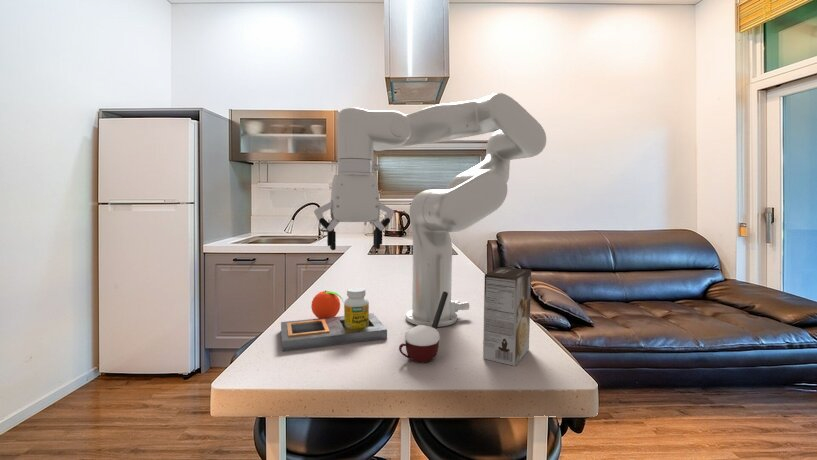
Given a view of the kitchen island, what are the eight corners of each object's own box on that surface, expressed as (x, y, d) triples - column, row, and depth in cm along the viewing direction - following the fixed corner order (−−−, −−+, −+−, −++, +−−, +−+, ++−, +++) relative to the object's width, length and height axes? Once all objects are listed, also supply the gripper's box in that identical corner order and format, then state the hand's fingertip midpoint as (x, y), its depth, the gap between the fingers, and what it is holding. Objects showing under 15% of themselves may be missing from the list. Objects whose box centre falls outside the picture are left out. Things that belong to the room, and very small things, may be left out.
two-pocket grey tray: (373, 321, 92) (373, 311, 91) (387, 338, 80) (387, 328, 80) (281, 330, 84) (280, 320, 84) (282, 351, 73) (282, 339, 73)
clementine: (348, 316, 96) (348, 288, 95) (338, 325, 89) (338, 295, 88) (318, 314, 97) (318, 286, 96) (306, 322, 90) (306, 293, 90)
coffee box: (498, 343, 78) (500, 266, 77) (529, 350, 75) (532, 269, 74) (481, 359, 70) (483, 273, 69) (516, 367, 67) (519, 277, 66)
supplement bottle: (362, 326, 88) (362, 285, 87) (373, 333, 83) (373, 290, 83) (340, 330, 85) (340, 288, 84) (350, 338, 80) (350, 293, 80)
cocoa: (399, 367, 68) (396, 302, 66) (399, 352, 74) (397, 292, 72) (452, 365, 68) (451, 300, 66) (448, 350, 74) (447, 290, 72)
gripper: (389, 171, 88) (388, 245, 89) (312, 168, 82) (312, 247, 83) (399, 169, 80) (398, 249, 82) (315, 165, 75) (316, 252, 76)
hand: (355, 248), depth 82 cm, fingers open, 9 cm apart
